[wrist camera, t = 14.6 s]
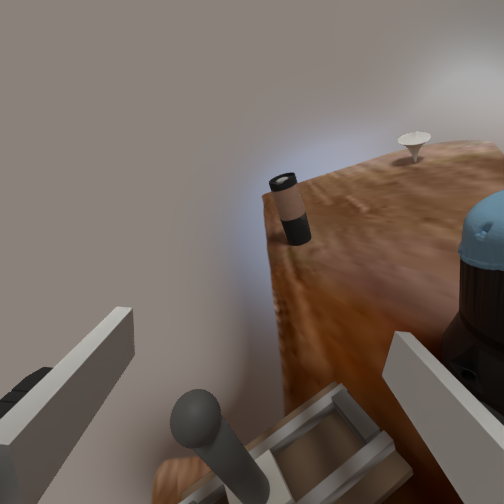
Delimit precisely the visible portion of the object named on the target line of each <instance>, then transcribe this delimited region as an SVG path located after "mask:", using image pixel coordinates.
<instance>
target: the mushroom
mask: <svg viewBox="0 0 504 504" xmlns="http://www.w3.org/2000/svg"><path fill="white" fill-rule="evenodd" d="M430 138H431V135H430V134H428V133H425V132H418V131H416V132H414V133H408V134H405V135H403V136H401V137H400V138H398V140H397V141H398V143H400V144H402V145H404V146H406V147H407V148H408V149H409V151H410V152H411V154H412V157H413V160H414V162H417V155H418V152H419V149H420V148H421V146H422V145H423V144H424V143H425V142H427V141H428V140H430Z"/></svg>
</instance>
